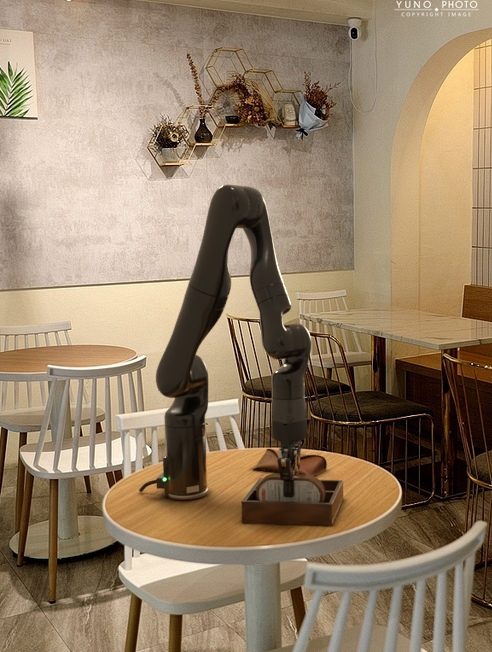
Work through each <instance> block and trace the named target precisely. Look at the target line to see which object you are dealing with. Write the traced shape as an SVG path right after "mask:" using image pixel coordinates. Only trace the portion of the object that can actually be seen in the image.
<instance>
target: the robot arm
mask: <svg viewBox="0 0 492 652" xmlns="http://www.w3.org/2000/svg"><path fill="white" fill-rule="evenodd" d="M269 217H270V216H269V212H268V207H267V203H266V201H265V198H264V195H263V194H262V193H261V192H260V191H259V189H256V188H255V187H252V186H245V185H236V184H223V185H221V186H219V187H218V188H217V189H216V190H215V192H214V194H213V195H212V197H211V199H210V202H209V206H208V210H207V216H206V219H205V225H204V230H203V235H202V239H201V243H200V246H199V250H198V252H197V256H196V260H195V263H194V267H193V270H192V273H191V275H190V278H189V280H188V284H187V287H186V289H185V290H186V291H185V292H184V296H183V300H182V303H181V306H180V309H179V312H178V315H177V319H176V321H175V324H174V328H173V330H172V333H171V336H170V338H169V340H168V342H167V345H166V346H165V350H164V351H163V354H162V356H161V359H160V360H159V363H158V365H157V368H156V372H155V384H156V387H157V390H158V392H159V393H160V394H161V395H162V396H163V397H165V398H168V399H173V402H172V404H171V405H170V406H169V407H168V409H167V410H165V412H164V419H163V420H164V441H165V443H164V444H165V456H164V457H162V470H163V472H162V473H160V474H159V475H158V476H157V477H156V479H153V480H149V481H147V482H145V483H144V484H143V485H141V487H140V488H139V489H138V491H139V493H143V492H144V490H145V489H146V488H147V487H149V486H151V485H155V484H156V490H157V489H158V490H163V497H164V498H167V499H171V500H175V501H192V500H197V499H200V498H203V497H205V496H206V495H208V493H209V487H208V474H207V473H208V472H207V471H208V470H207V469H208V467H207V466H208V465H207V442H206V439H207V438H206V437H207V436H206V414H207V412H208V410H209V409H208V408H209V407H208V406H209V372H208V367H207V365H206V362H205V360H203V358H202V357H201V356H199V355H198V354H197V353H198V350H199V348H200V346H201V344H202V343H203V341H204V340H205V339H206V337H207V336H208V335H209V334H210V332H211V331H212V330H213V329H214V327H215V325H216V324H217V323H218V321H219V320H220V318H221V317H222V315H223V313H224V310H225V308H226V305H227V303H228V299H229V297H230V293H231V289H232V275H231V269H230V264H229V249H230V245H231V242H232V238H233V236H234V233H235V231H236V229H242V230H243V233H244V234H245V236H246V239H247V242H248V244H249V248H250V249H249V250H250V264H249V265H250V266H249V285H250V288H251V293H252V295H253V299H254V301H255V304H256V307H257V309H258V312H259V325H260V340H261V345H262V348H263V350H264V352H265V353H266V354H267V356H268V357H270V358H271V359H273V360H277V361H278V360H283V363H282V366H279V368H277V369H275V370H274V371H273V372H272V373H271V405H270V415H271V416H270V417H271V419H270V421H271V438H272V439H273V441H275V442H280V443H281V446H280V447H279V449H278V451H279V456H280V458H278V460H277V462H278V467H279V474H280V480H283V483H284V497H293V496H294V479H295V477H294V474H298V470H299V468H300V454H302V452H301V451H302V442H301V441H303V440H305V439H306V438H307V436H308V429H307V428H308V422H307V421H308V420H307V402H306V391H305V390H306V388H305V386H306V385H305V383H306V382H305V378H306V373H307V369H308V365H309V361H310V357H311V351H312V337H311V334H310V332H309V329H308V328H307V327H306V326H305V325H303V324H301V323H288V324H284V323H283V316H285V315H286V314H287V313H289V312H290V311H291V309H292V303H291V299H290V296H289V293H288V291H287V287H286V284H285V282H284V278H283V276H282V273H281V271H280V267H279V263H278V259H277V254H276V249H275V244H274V238H273V233H272V229H271V222H270V218H269ZM285 473H286V474H289V475H285Z"/></svg>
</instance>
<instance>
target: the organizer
mask: <svg viewBox="0 0 492 652" xmlns="http://www.w3.org/2000/svg"><path fill="white" fill-rule="evenodd" d="M263 478H264V477H259V478H258V479H257V481H255V483H254V485H252V487H251V489H249V491H248V492H247V494H246V495H245V496H244V498H243V499H242V500H241V503H240V504H241V505H240V506H241V524H260V525H261V524H265V525H292V526H294V525H297V526H327V527H333V525H334V523H335V521H336V518H337V516H338V514H339V511H340V509H341V506H342V504H343V502H344V480H342V479H319V480H320V481H321V482H322V484H323V486H324V488H325V500H324V502H323V503H314V502H280V501H257V497H256V491H257V487H258V485H259V483H260V482H261V480H262V479H263Z"/></svg>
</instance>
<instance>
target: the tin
mask: <svg viewBox="0 0 492 652" xmlns="http://www.w3.org/2000/svg"><path fill="white" fill-rule="evenodd" d="M285 475H289V474H285ZM294 477H295V479H294V496H293V497H284V483H283V480H280V474H279V473H278V472H272V473H270V474H267V475H265V476H264V477H262V478H263V479H262V480H261V482H260V483H259V485H258V487H257V491H256V497H257V501H280V502H314V503H323V502H324V500H325V488H324V486H323V484H322V482H321V481H320V480H321V479H319V478H318V477H316V476H312V475H302V474H294Z"/></svg>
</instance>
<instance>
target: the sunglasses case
mask: <svg viewBox="0 0 492 652" xmlns="http://www.w3.org/2000/svg"><path fill="white" fill-rule="evenodd" d="M278 458H280V456H279V450H277V449H272V448H267V449H266V450H265V452H264V453H263V455H262V457H261V458H260V460H259V461H258V462H257V464H256V465H255V466H254V467H253V468H252V470H257V471H258V470H259V471H266V472H270V473H271V472H272V473H279V467H278V462H277V460H278ZM327 467H328V463H327V459H326V457H324V456H322V455H319V454H305V453H300V468H299V470H298V474H302V475H312V476H314V477H316V476H318V475H320V474H323V473H324V472H326V470H327ZM285 474H286V473H285Z"/></svg>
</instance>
